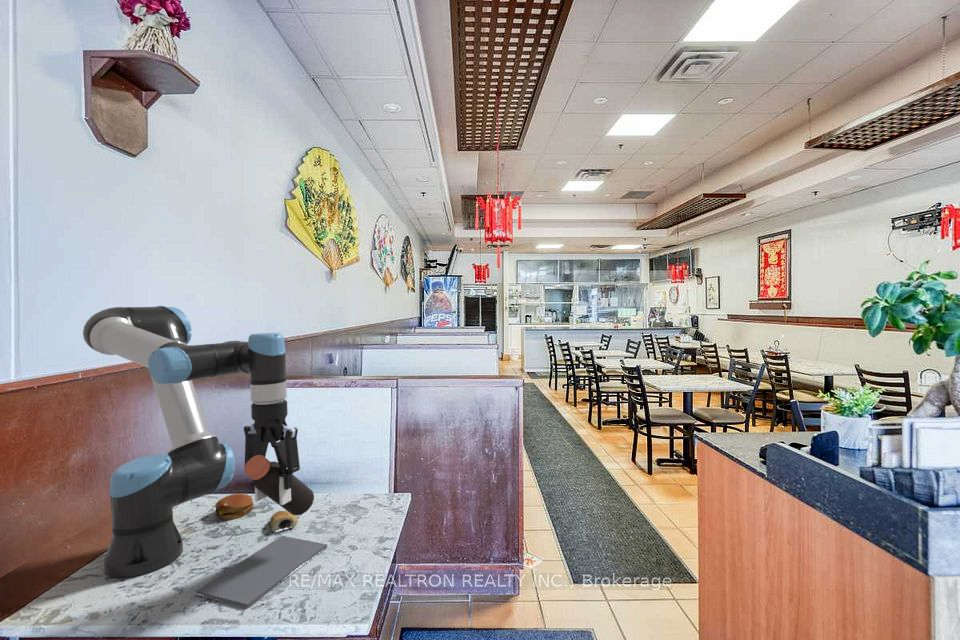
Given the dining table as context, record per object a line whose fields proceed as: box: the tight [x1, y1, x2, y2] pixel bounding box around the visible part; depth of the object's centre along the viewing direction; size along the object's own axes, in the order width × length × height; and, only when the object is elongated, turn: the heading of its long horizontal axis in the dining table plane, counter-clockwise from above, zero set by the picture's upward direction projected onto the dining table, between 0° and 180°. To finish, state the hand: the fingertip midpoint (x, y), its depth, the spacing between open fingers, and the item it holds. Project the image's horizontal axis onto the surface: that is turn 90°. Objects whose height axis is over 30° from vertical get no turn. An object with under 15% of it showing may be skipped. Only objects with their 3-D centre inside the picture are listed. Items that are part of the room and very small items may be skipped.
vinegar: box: [243, 455, 315, 516], centre depth 109 cm, size 7×7×20 cm
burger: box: [214, 493, 255, 521], centre depth 135 cm, size 10×9×5 cm
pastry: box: [269, 510, 299, 532], centre depth 127 cm, size 9×7×4 cm
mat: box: [195, 535, 328, 609], centre depth 105 cm, size 14×24×1 cm, turn 160°
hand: (273, 500), depth 107 cm, fingers closed on vinegar, 6 cm apart
